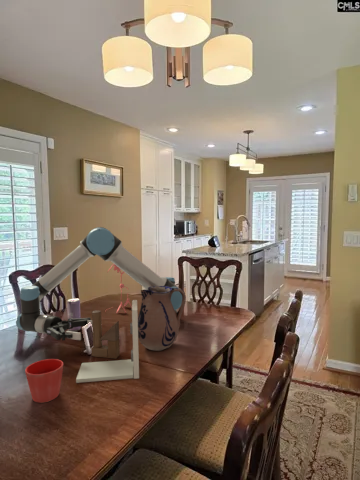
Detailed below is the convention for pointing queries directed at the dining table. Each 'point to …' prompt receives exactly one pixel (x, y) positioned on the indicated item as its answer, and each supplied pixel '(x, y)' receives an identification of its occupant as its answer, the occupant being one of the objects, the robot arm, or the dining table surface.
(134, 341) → the white l-shaped bracket
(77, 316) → the beverage can
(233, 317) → the dining table surface
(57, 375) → the flower pot
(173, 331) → the ceramic pitcher
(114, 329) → the wooden block
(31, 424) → the dining table surface
